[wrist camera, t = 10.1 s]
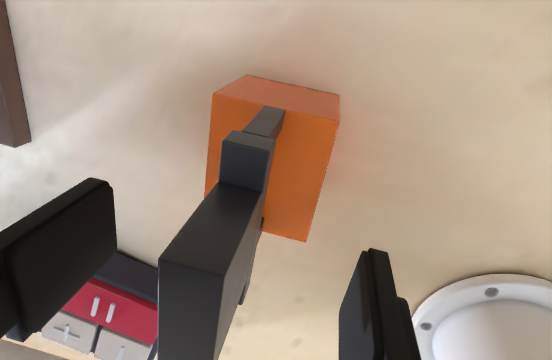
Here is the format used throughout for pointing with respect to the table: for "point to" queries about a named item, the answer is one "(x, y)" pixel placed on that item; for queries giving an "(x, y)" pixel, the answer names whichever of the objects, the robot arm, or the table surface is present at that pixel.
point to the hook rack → (10, 91)
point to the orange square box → (242, 206)
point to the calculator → (111, 313)
